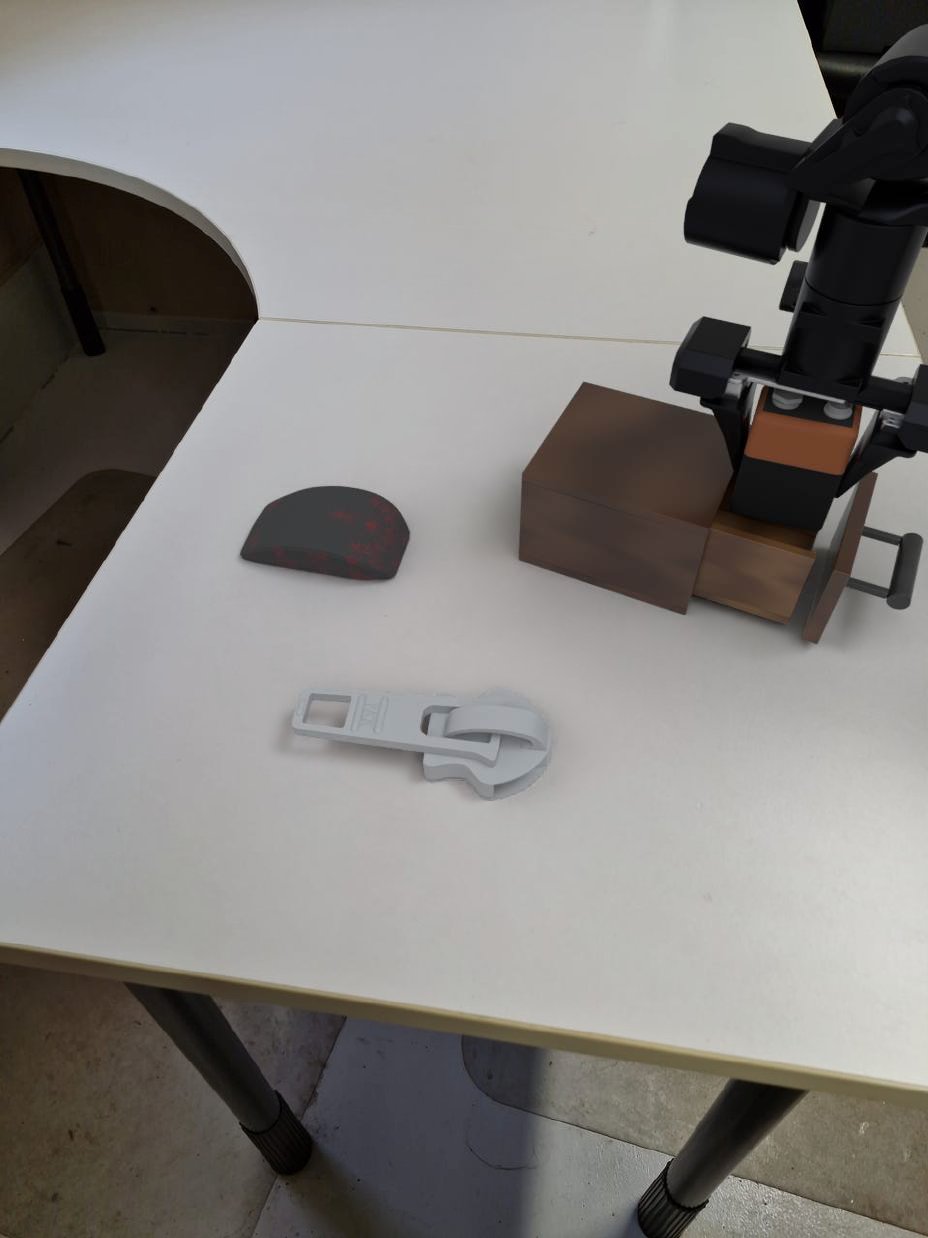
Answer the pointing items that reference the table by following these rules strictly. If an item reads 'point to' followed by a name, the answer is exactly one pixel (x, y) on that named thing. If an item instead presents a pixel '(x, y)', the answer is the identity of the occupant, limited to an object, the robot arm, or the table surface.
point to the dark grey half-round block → (330, 533)
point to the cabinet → (625, 495)
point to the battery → (794, 458)
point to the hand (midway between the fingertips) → (786, 480)
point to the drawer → (798, 563)
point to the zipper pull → (445, 734)
